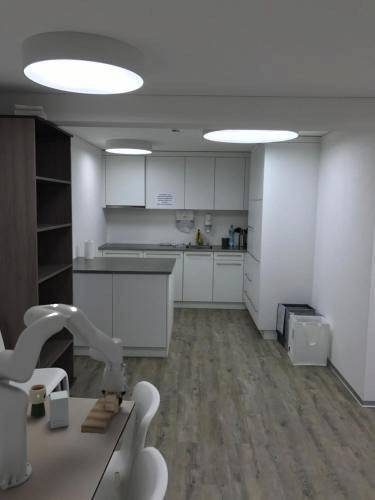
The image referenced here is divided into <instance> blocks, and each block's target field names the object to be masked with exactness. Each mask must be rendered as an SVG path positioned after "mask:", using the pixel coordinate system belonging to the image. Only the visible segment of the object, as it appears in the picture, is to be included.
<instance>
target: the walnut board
mask: <svg viewBox="0 0 375 500" xmlns="http://www.w3.org/2000/svg"><path fill="white" fill-rule="evenodd" d="M115 414H116V413H114V411H109V410H106V402H105V398H102V397H99V398H98V399H97V401H96V402H95V403H94V405H93V407H92V409H91V410H90V411H89V413H88V415H87V416H86V418H85V419H84V421H83V422H82V424H81V425H80V431H81V432H83V433H84V432H86V433H98V434H105V433H106V431H107V429H108V427H109V425H110V424H111V422H112V420H113V418H114V416H115Z"/></svg>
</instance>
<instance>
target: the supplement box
mask: <svg viewBox="0 0 375 500" xmlns="http://www.w3.org/2000/svg"><path fill="white" fill-rule="evenodd" d="M49 424H50V429H55V428H62V427H66V426H67V427H68V426H69V395H68V390H60V391H53V392H49Z"/></svg>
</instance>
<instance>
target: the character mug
mask: <svg viewBox="0 0 375 500" xmlns="http://www.w3.org/2000/svg"><path fill="white" fill-rule="evenodd" d="M28 397H29V404H31V407H30V408H31V409H30V417H32V418H40V417H43V416H46V415H45V414H46V406H45V402H46V401H47V385H46V384H44V383H43V384H42V383H37V384H33V385H31V386H29V388H28Z"/></svg>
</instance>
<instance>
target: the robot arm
mask: <svg viewBox="0 0 375 500" xmlns="http://www.w3.org/2000/svg"><path fill="white" fill-rule="evenodd" d="M23 323H24V325H25V326H26V328H25V329H24V330H23V331H22V332H21V333H20V335H19V337H18V339H17V342H16V343H15V347H14V349H4V350H2V351H0V488H1V489H2V490H7V489H8V488H14V487H17V486H19V485H21V484H23V483H25V482H26V481H27V480H28V479H30V477H31V475H32V474H33V466H32V465H31V463H29V462H28V447H27V446H28V442H27V439H28V438H27V437H28V436H27V435H28V433H27V432H28V431H27V419H28V418H27V416H28V411H29V406H30V405H29V404H30V402H29V394H28V393H27V392H26V390H24V389H23V388H20V387H18V386H16V385H14V384H11V383H10V382H13V383H16V384H25V383H28V382H30V380H31V379H32V377H33V375H34V372H35V370H36V366H37V364H38V359H39V357H40V354H41V350H42V348H43V346H44V344H45V343H46V341H47V340H49V338H51V337H52V336H53V335H55V334H57V333H59V332H60V331H61V330H63V328H66V329H67V330H68V331H69V332H70V334H72V336H73V337H74V338H75V339H76V340H77V341H78V342H79V343H81V344H82V345H85V346H86V347H88V348H89V349H88V355H89V357H90V358H91V359H93V360H95V361H99V362H103V363H105V367H104V369H103V375H102V381H101V384H100V385H99V386H98V387H97V389H98V391H100V392H101V393H102V394H103V395H104V399H105V402H106V396H107V395H108V393H109V392H110V391H118V393H119V398H118V406H120V405H122V404H123V400H124V399H123V397H124V396H125V395H126V394H127V393H129V392H130V391H131V390H130V389H131V388H130V386H129V385H127V379H126V371H125V367H126V363H124V361H123V358H124V357H123V354H124V352H123V351H124V350H123V348H124V347H123V344H124V343H123V340H122V339H121V338H118V337H113V338H112V337H110V336H108V335H107V334H106V333H104V332H103V331H102V330H100V329H99V328H97V327H96V326H95V325H94V324H93V323H92V322H91V320H90V319H89V318H88V317H87V315H85V313H84V312H83V311H82V310H81V308H79V307H77V306H74V305H69V304H64V303H54V304H45V305H44V304H43V305H35V306H32V307H30V308H29V309H27V310H26V312H25V313H24V316H23ZM121 403H122V404H121ZM120 407H121V406H120Z"/></svg>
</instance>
